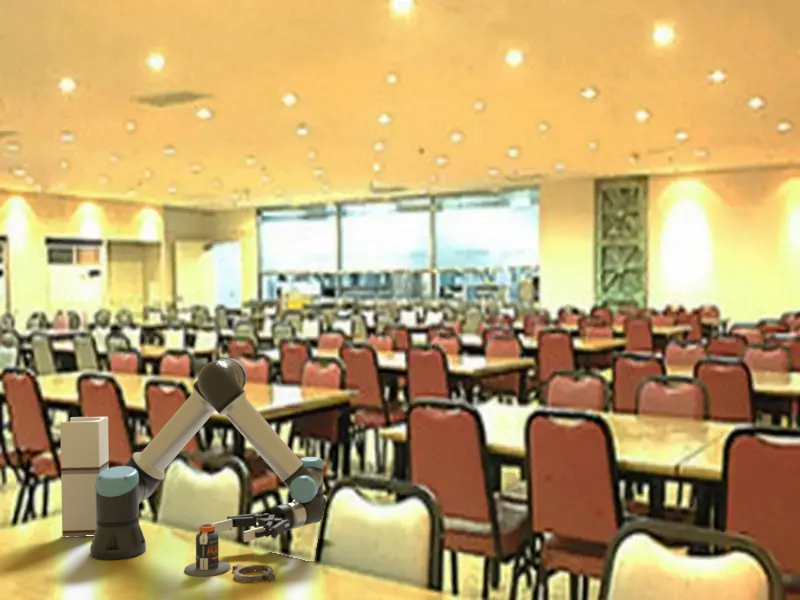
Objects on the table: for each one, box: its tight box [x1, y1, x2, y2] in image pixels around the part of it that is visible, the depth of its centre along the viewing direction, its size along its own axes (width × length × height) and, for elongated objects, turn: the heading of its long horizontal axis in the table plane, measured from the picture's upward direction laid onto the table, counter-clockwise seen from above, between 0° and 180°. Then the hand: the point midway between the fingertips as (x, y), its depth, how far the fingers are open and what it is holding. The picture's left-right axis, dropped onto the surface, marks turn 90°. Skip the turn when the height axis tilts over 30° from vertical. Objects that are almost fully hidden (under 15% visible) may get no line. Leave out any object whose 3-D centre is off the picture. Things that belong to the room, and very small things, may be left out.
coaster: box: [184, 560, 231, 577], centre depth 242 cm, size 12×12×1 cm
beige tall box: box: [59, 416, 110, 537], centre depth 280 cm, size 11×11×35 cm
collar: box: [232, 564, 276, 583], centre depth 236 cm, size 15×10×1 cm
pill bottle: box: [195, 523, 220, 570], centre depth 242 cm, size 6×6×11 cm
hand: (228, 532), depth 247 cm, fingers open, 13 cm apart
